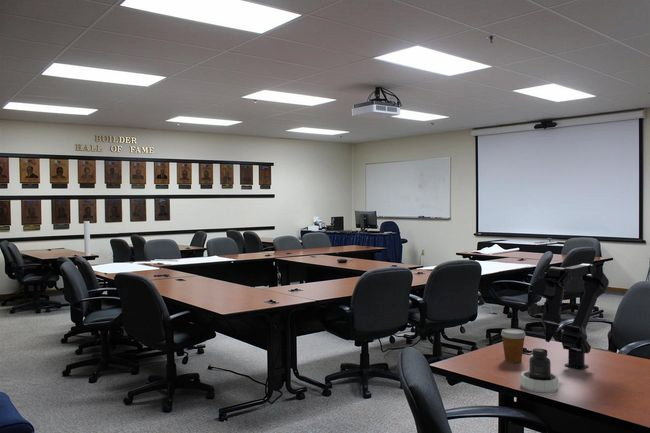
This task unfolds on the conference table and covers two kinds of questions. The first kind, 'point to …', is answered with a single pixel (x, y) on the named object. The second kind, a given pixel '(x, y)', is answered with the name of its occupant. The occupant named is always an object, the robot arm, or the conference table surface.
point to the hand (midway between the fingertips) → (547, 341)
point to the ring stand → (539, 383)
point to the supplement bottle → (540, 365)
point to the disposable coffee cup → (513, 344)
